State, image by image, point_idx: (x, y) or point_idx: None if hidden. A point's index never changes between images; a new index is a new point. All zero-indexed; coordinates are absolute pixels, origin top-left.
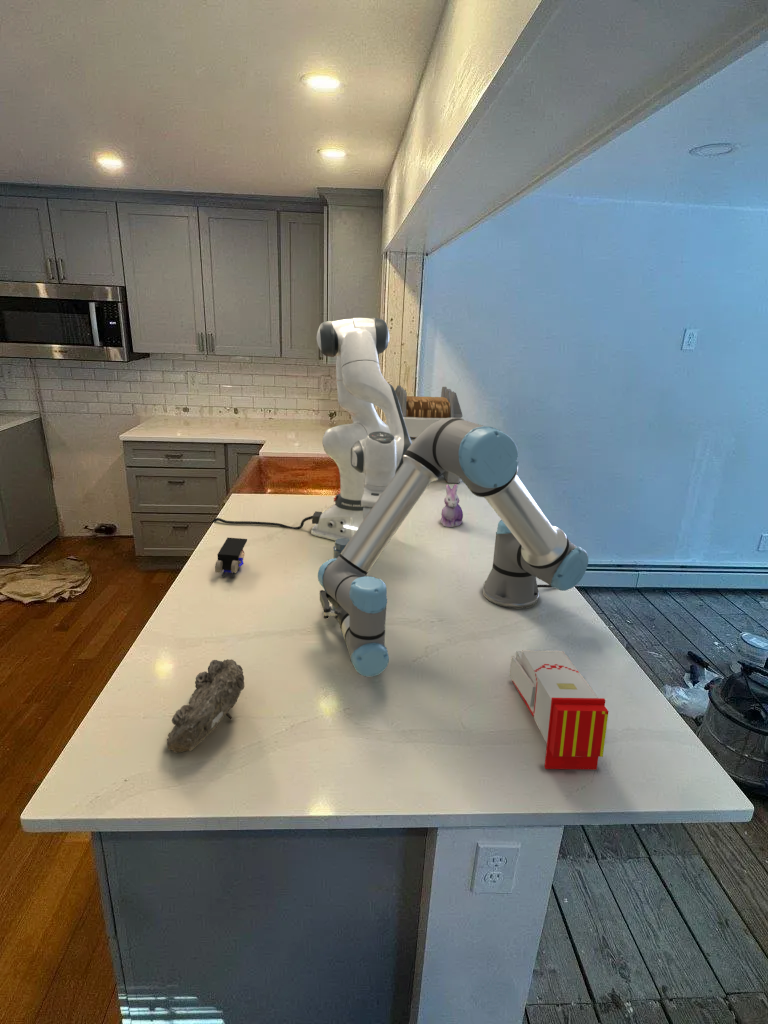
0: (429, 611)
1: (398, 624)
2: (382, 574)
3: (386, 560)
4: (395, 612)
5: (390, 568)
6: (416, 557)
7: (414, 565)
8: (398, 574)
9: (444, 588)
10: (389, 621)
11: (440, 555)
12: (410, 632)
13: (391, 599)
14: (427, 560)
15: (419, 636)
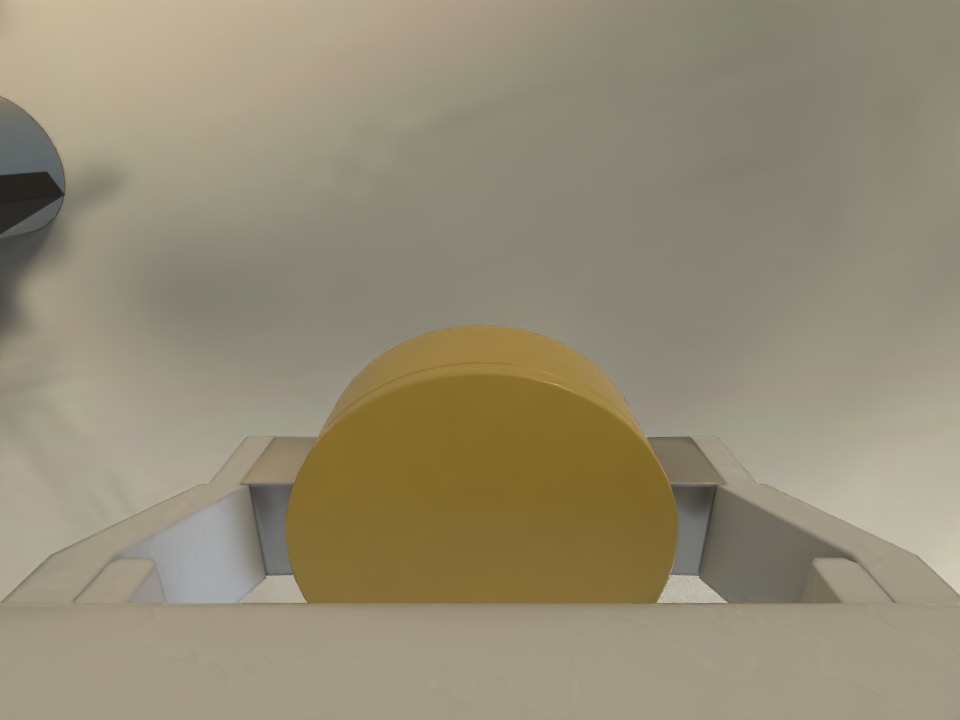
0: (253, 594)
1: (58, 492)
2: (609, 300)
3: (855, 279)
4: (162, 460)
5: (716, 333)
6: (914, 460)
7: (783, 465)
8: (631, 398)
9: None
10: (58, 449)
11: (947, 577)
12: (24, 548)
13: (290, 417)
14: (867, 523)
15: (17, 583)
